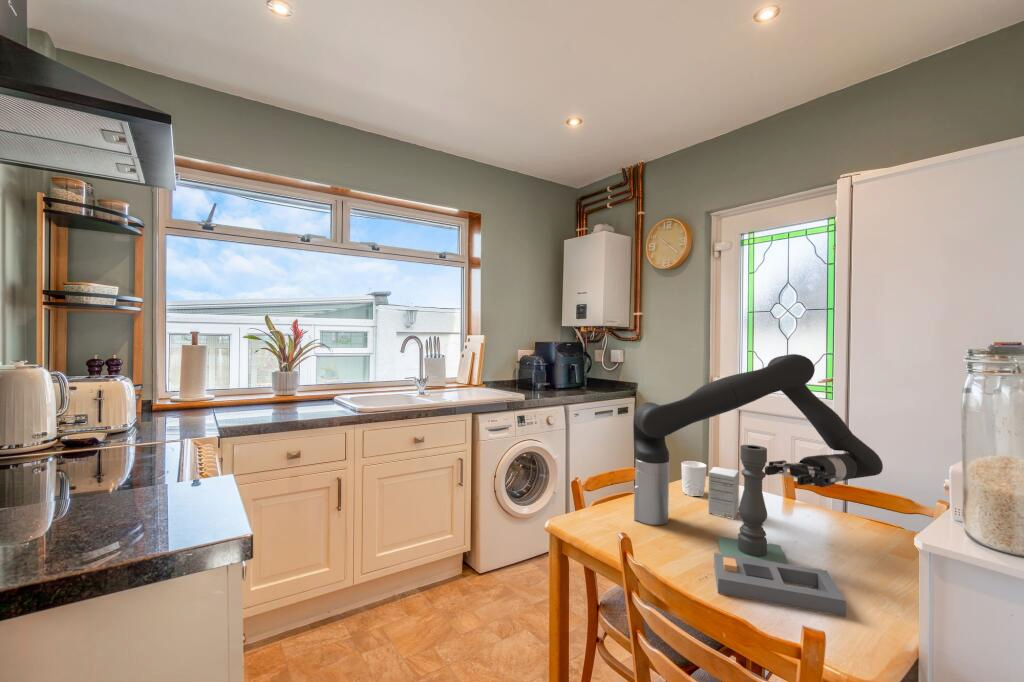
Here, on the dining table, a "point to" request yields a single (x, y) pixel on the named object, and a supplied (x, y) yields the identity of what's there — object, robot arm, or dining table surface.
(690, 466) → the white cup
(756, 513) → the candle holder
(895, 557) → the dining table surface
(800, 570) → the grey compartment tray
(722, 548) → the mat
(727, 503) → the supplement box
